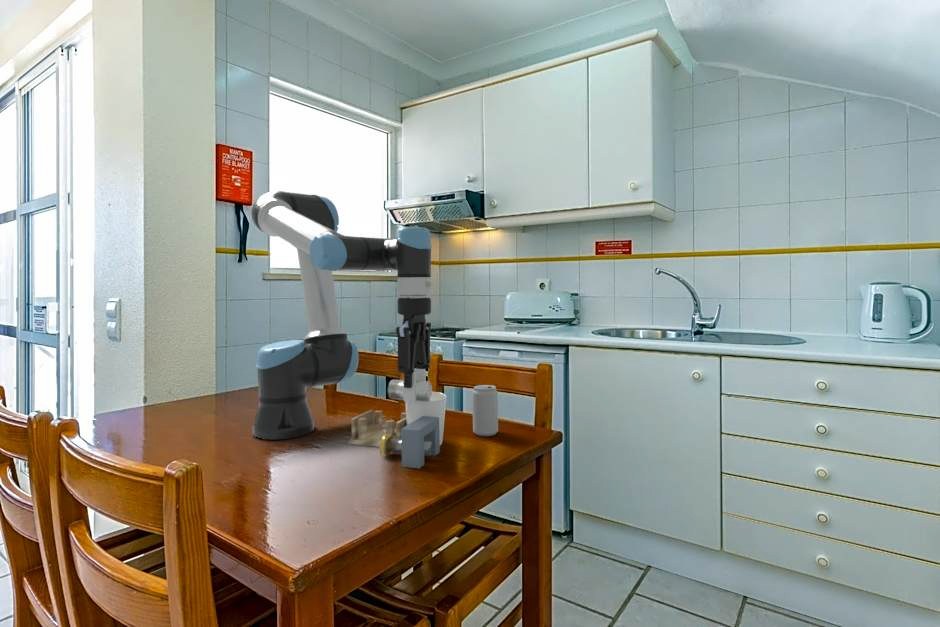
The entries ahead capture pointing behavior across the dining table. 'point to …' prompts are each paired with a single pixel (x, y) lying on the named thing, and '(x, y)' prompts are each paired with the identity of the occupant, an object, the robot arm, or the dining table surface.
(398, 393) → the axle
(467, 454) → the dining table surface
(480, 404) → the beverage can
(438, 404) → the white cup
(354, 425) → the cradle
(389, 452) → the drift plunger
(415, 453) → the grey arch block
